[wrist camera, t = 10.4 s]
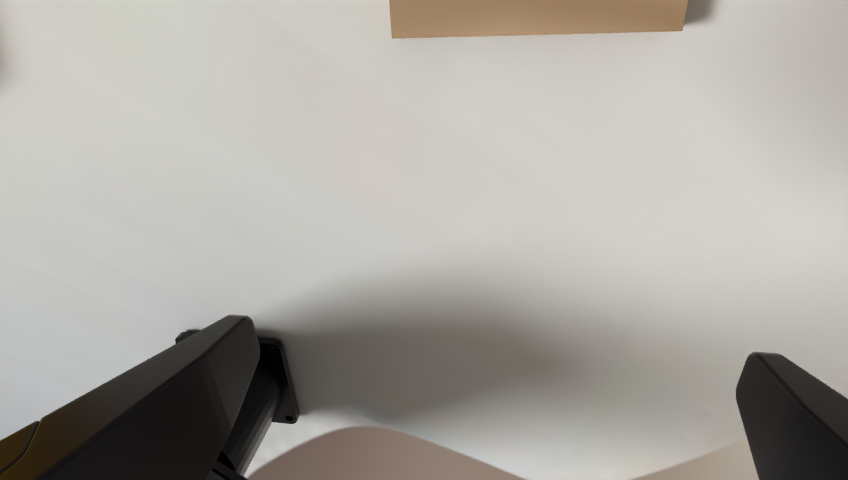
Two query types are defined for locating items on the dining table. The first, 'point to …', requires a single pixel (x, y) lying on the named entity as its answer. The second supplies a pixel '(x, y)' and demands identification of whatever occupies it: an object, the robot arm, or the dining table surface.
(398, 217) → the dining table surface
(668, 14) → the board
